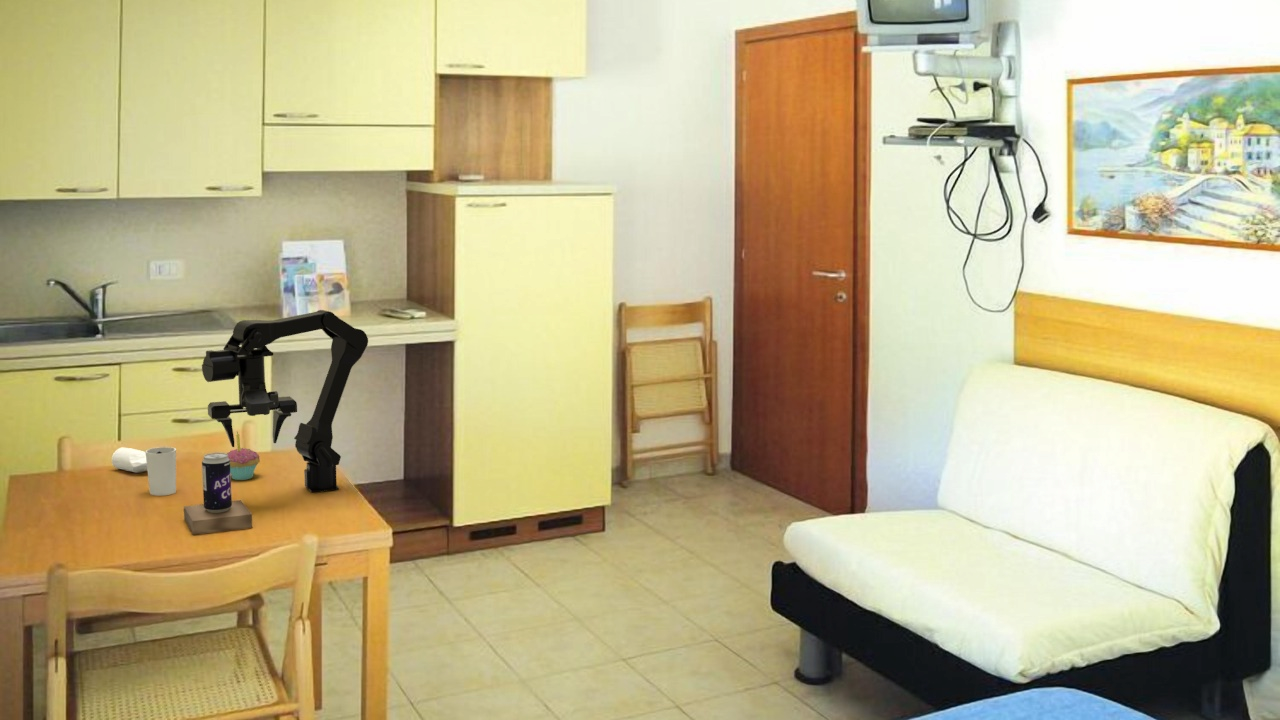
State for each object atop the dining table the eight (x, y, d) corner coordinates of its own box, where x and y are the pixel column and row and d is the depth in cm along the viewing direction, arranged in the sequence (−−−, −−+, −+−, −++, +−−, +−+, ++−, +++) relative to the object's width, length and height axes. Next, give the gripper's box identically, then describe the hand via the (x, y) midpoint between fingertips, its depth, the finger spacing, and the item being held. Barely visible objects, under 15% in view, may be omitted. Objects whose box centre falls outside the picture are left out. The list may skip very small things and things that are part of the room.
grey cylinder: (141, 494, 305) (139, 452, 303) (161, 487, 311) (159, 445, 310) (164, 497, 303) (162, 454, 301) (184, 490, 309) (182, 448, 307)
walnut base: (241, 513, 291) (240, 500, 291) (252, 527, 281) (251, 514, 280) (184, 519, 286) (183, 506, 285) (193, 535, 275) (192, 521, 275)
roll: (140, 478, 319) (139, 456, 318) (111, 471, 326) (110, 448, 325) (162, 473, 324) (161, 451, 323) (133, 466, 331) (132, 444, 330)
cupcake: (254, 482, 317) (252, 433, 315) (218, 481, 317) (216, 433, 315) (264, 473, 325) (262, 425, 323) (230, 472, 325) (228, 425, 323)
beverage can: (214, 515, 279) (212, 460, 277) (198, 510, 282) (196, 455, 280) (237, 509, 283) (235, 454, 281) (221, 504, 287) (218, 450, 285)
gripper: (214, 386, 285) (217, 456, 288) (301, 380, 294) (303, 448, 296) (206, 377, 295) (208, 445, 297) (290, 371, 303) (292, 438, 306)
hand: (254, 444), depth 299 cm, fingers open, 9 cm apart
